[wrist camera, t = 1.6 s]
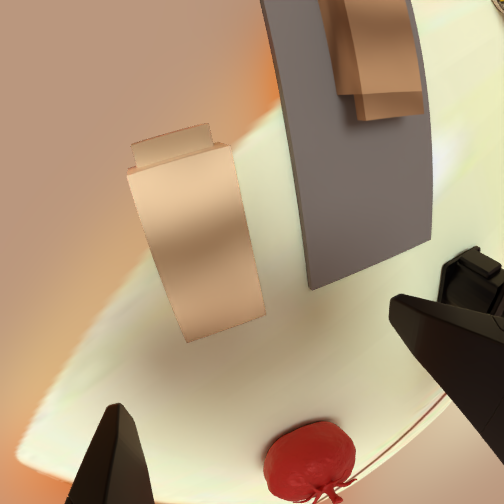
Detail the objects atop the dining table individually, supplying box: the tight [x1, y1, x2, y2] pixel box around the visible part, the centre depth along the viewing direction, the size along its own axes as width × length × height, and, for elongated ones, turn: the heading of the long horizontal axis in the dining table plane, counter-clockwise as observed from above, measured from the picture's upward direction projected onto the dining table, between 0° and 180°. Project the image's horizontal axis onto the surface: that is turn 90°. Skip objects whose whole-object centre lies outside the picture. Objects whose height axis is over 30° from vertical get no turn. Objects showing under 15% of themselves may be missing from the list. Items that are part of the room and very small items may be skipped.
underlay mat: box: [260, 0, 433, 290], centre depth 19 cm, size 20×12×1 cm, turn 13°
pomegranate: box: [263, 421, 357, 504], centre depth 27 cm, size 10×10×9 cm
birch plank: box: [127, 123, 266, 343], centre depth 17 cm, size 11×5×2 cm, turn 13°
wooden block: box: [318, 0, 424, 121], centre depth 15 cm, size 8×5×2 cm, turn 13°
